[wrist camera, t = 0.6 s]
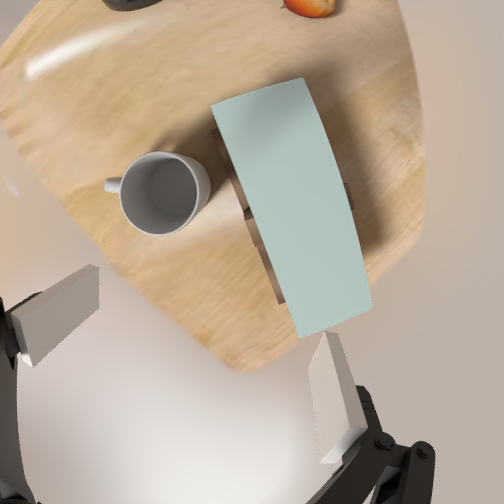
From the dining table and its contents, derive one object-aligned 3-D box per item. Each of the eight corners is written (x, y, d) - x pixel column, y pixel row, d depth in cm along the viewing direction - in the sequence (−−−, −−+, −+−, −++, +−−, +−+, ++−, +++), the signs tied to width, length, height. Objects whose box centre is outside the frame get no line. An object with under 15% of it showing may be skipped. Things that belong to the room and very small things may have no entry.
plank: (210, 108, 25) (209, 105, 24) (300, 80, 24) (302, 77, 23) (297, 333, 33) (299, 338, 32) (368, 303, 32) (372, 308, 31)
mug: (216, 160, 34) (208, 155, 24) (205, 222, 37) (194, 243, 26) (131, 151, 33) (94, 145, 22) (124, 211, 35) (86, 226, 25)
